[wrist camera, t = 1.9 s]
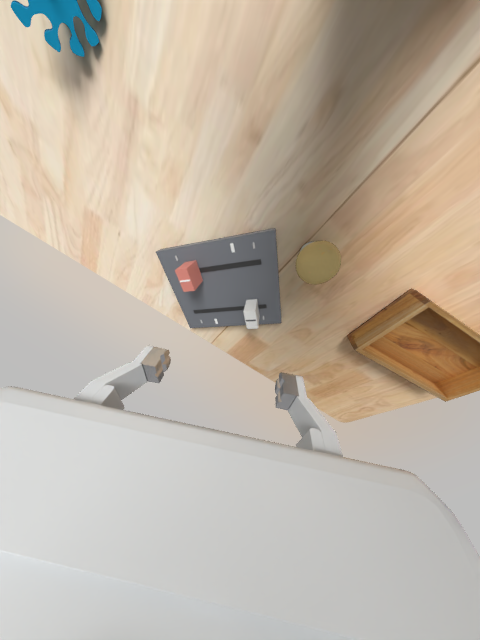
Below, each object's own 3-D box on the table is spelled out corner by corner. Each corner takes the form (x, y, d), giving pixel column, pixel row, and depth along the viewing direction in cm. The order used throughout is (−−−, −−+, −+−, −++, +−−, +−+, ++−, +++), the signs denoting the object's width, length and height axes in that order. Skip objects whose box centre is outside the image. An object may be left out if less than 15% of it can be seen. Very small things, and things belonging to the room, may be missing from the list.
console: (275, 228, 30) (275, 230, 29) (281, 318, 42) (281, 323, 40) (161, 249, 36) (155, 251, 35) (193, 323, 47) (190, 328, 46)
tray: (505, 353, 38) (536, 374, 34) (430, 383, 47) (446, 403, 43) (410, 285, 33) (431, 300, 29) (345, 333, 42) (354, 350, 37)
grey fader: (257, 298, 37) (255, 311, 33) (259, 315, 39) (258, 328, 36) (246, 299, 38) (243, 312, 34) (249, 316, 40) (246, 329, 36)
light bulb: (333, 256, 32) (353, 277, 24) (300, 274, 35) (308, 297, 27) (320, 224, 29) (338, 236, 21) (286, 245, 32) (290, 263, 24)
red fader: (196, 260, 34) (186, 268, 30) (203, 280, 36) (194, 291, 33) (185, 261, 35) (174, 270, 31) (192, 281, 37) (183, 292, 33)
